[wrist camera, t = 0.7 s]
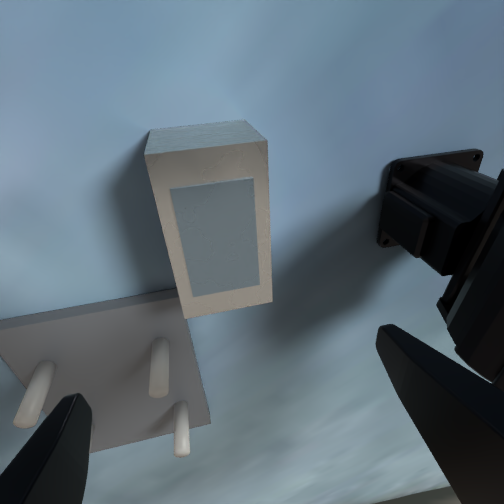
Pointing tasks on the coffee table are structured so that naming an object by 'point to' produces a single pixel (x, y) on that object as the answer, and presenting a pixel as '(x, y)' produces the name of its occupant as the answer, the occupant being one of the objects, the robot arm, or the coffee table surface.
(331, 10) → the coffee table surface
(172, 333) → the pegged base plate
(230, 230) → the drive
